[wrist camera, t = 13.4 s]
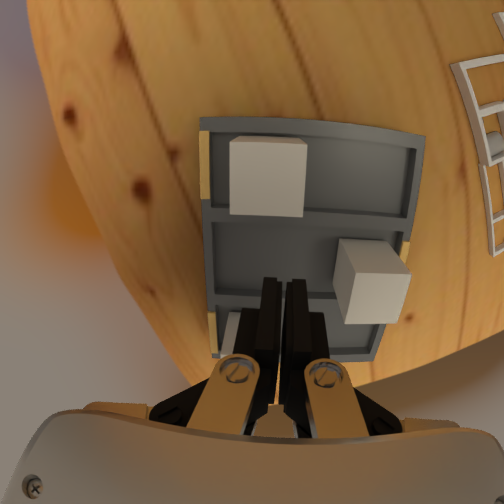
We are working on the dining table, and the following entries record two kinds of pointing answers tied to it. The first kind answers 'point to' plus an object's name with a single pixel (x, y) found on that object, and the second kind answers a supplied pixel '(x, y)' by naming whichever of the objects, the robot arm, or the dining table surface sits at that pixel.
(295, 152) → the white rectangular block
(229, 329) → the tab
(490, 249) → the floor plan model
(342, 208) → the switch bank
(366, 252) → the white block
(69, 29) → the dining table surface
